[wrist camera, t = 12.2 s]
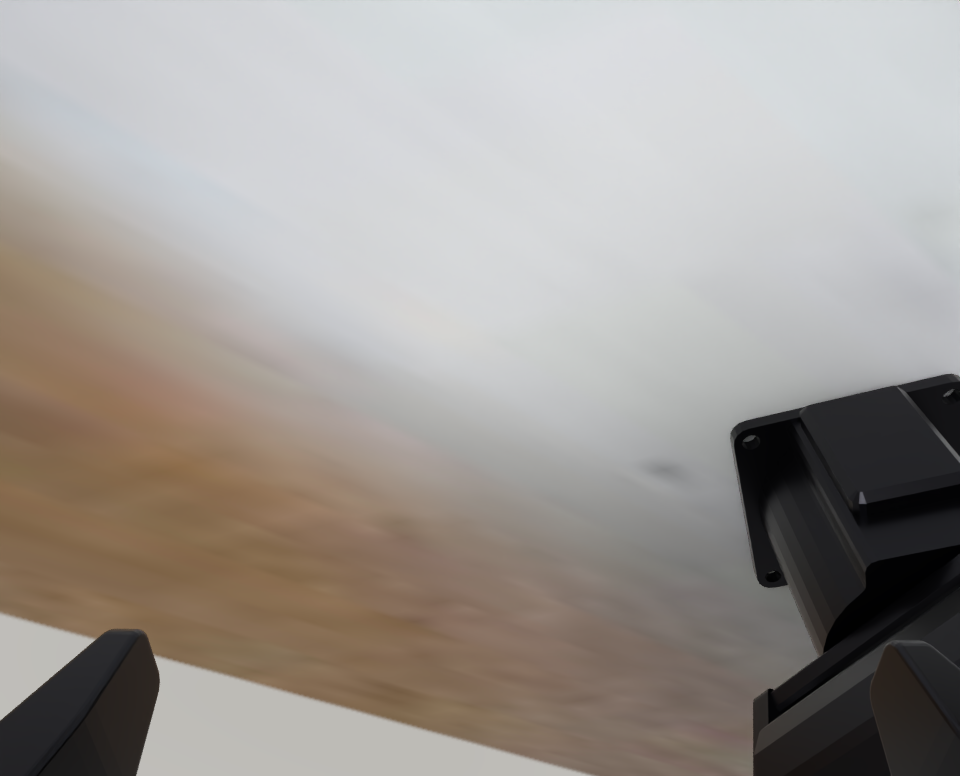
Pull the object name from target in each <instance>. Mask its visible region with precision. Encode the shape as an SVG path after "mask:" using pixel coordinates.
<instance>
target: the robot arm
mask: <svg viewBox="0 0 960 776" xmlns="http://www.w3.org/2000/svg"><path fill="white" fill-rule="evenodd" d="M951 389H954V392H953V393H952V394H951V395H949V396H946V397H943V396H944V394H945V393H946V392H947V391H949V390H951ZM750 435H755V436H756V437H755V438H754V439H753V440H751V441H749V442H744V441H743V440H744V439H745V438H746V437H748V436H750ZM730 439H731V445H732V450H733V456H734V461H735V467H736V472H737V478H738V484H739V489H740V495H741V500H742V506H743V511H744V517H745V522H746V528H747V534H748V539H749V545H750V550H751V556H752V561H753V567H754V572H755V574H756V577H757V579H758V582H759V584H761V585H762V586H764V587H768V588H773V587H780V586H785V585H788V586H789V588H790V591H791V593H792V595H793V598H794V600H795V602H796V605H797V607H798V609H799V612H800V614H801V617H802V619H803V621H804V624H805V626H806V628H807V631H808V633H809V635H810V638H811V640H812V643H813V645H814V647H815V650H816V652H817V654H818V658H817V659H816V660H814V661H813V662H811V663H810V664H809V665H807V666H806V667H805V668H803V669H802V670H801V671H799V672H798V673H797V674H795V675H794V676H792V677H791V678H790V679H788V680H787V681H786V682H784V683H783V684H782V685H780V686H779V687H778V688H776V689H775V690H773V689H768V690H766V691H765V692H764V693H762V694H761V695H760V696H758V697H757V698H756V699H754V702H753V776H960V377H959V376H958V375H954V374H947V375H941V376H937V377H933V378H928V379H924V380H920V381H916V382H911V383H907V384H903V385H898V386H890V387H886V388H882V389H877V390H873V391H869V392H864V393H860V394H856V395H851V396H847V397H843V398H839V399H834V400H830V401H826V402H821V403H817V404H813V405H809V406H807V407H803V408H799V409H795V410H791V411H786V412H782V413H778V414H773V415H769V416H765V417H760V418H756V419H752V420H747V421H744V422H742V423H739V424H738V425H737V426H735V427H734V428H733V430H732V432H731V437H730ZM771 571H775V572H773V573H768V572H771ZM159 683H160V679H159V671H158V668H157V665H156V662H155V659H154V655H153V652H152V649H151V646H150V643H149V640H148V637H147V635H146V633H145V632H144V631H142V630H140V629H111V630H109V631H107V632H105V633H103V634H102V635H101V636H100V637H99V638H97V639H96V640H95V641H94V642H93V643H91V644H90V645H89V646H88V647H87V648H86V649H84V650H83V651H82V652H81V653H80V654H78V655H77V656H76V657H75V658H74V659H73V660H71V661H70V662H69V663H68V664H67V665H66V666H64V667H63V668H62V669H61V670H60V671H58V672H57V673H56V674H55V675H54V676H53V677H51V678H50V679H49V680H48V681H47V682H45V683H44V684H43V685H42V686H41V687H39V688H38V689H37V690H36V691H35V692H34V693H32V694H31V695H30V696H29V697H28V698H26V699H25V700H24V701H23V702H22V703H21V704H20V705H18V706H17V707H16V708H15V709H13V710H12V711H11V712H10V713H9V714H8V715H6V716H5V717H4V718H3V719H2V720H1V721H0V776H136V774H137V770H138V766H139V763H140V759H141V755H142V752H143V748H144V744H145V741H146V737H147V733H148V729H149V725H150V722H151V718H152V714H153V711H154V707H155V703H156V700H157V696H158V692H159Z"/></svg>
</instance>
